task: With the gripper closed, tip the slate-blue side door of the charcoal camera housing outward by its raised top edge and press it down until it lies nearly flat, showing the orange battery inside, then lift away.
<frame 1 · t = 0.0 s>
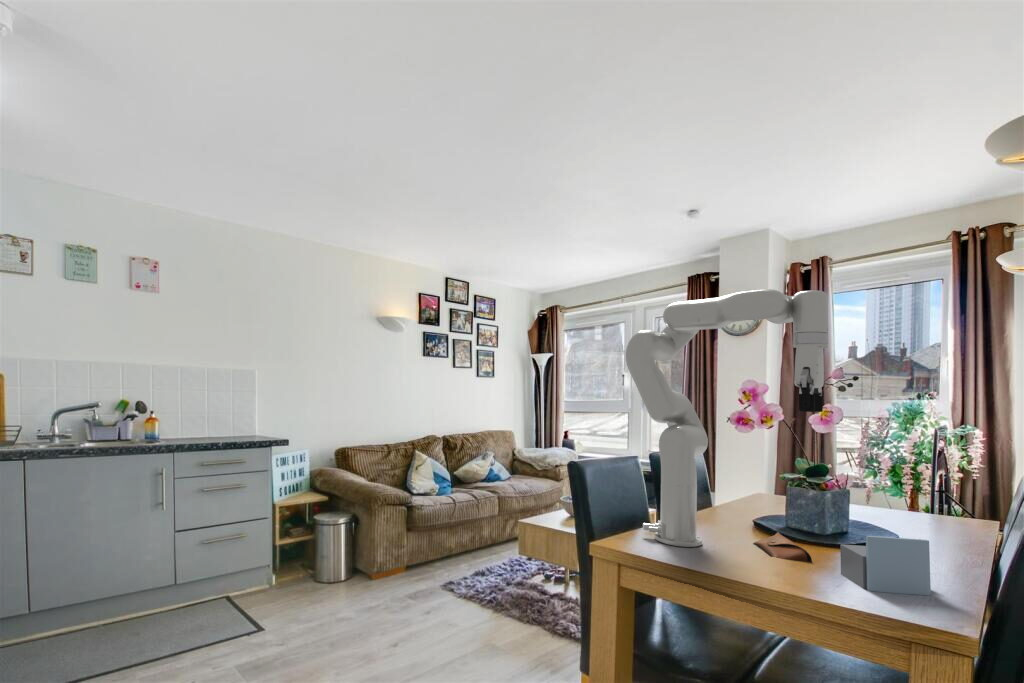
hand: (811, 411, 127), 37 cm above the table, tool pointing down, fingers open, 9 cm apart
camera housing: (883, 587, 115), on the table
side door: (897, 565, 110), point 6 cm above the table, hinge at 0.0°
sunglasses case: (779, 556, 137), on the table
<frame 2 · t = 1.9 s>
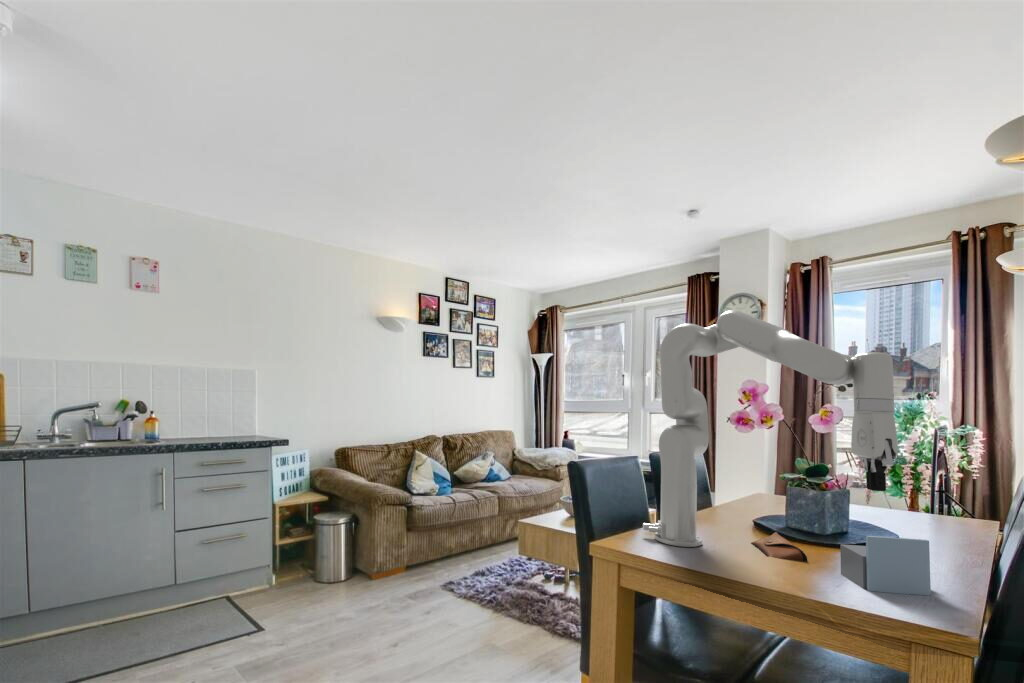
hand: (876, 490, 117), 21 cm above the table, tool pointing down, fingers closed
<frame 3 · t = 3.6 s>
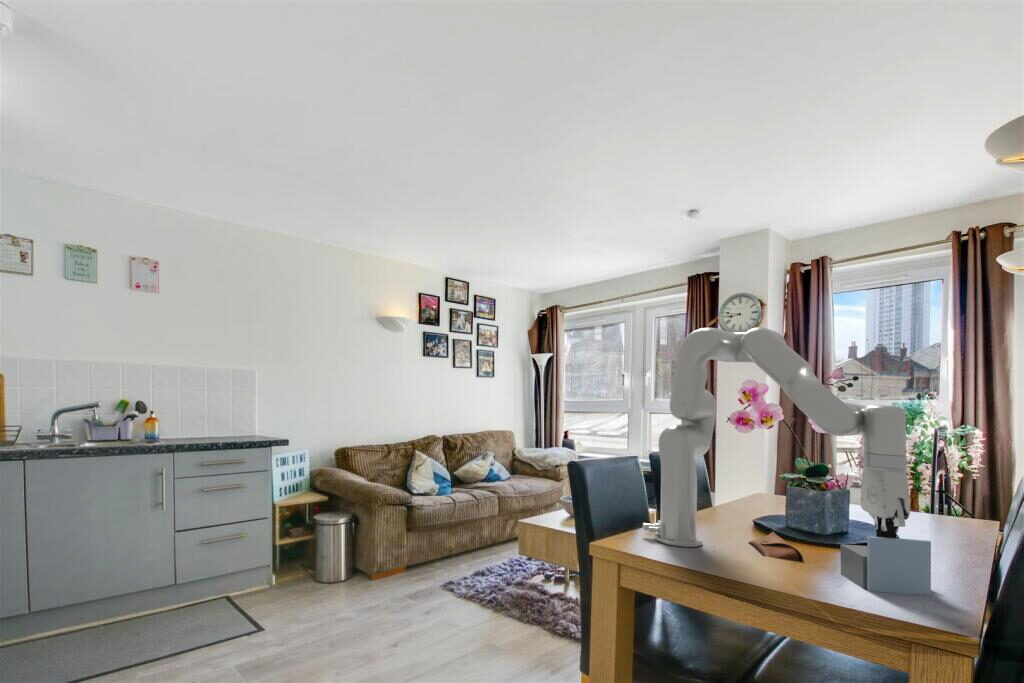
hand: (886, 549, 112), 9 cm above the table, tool pointing down, fingers closed
side door: (898, 565, 110), point 6 cm above the table, hinge at 2.9°, touching gripper
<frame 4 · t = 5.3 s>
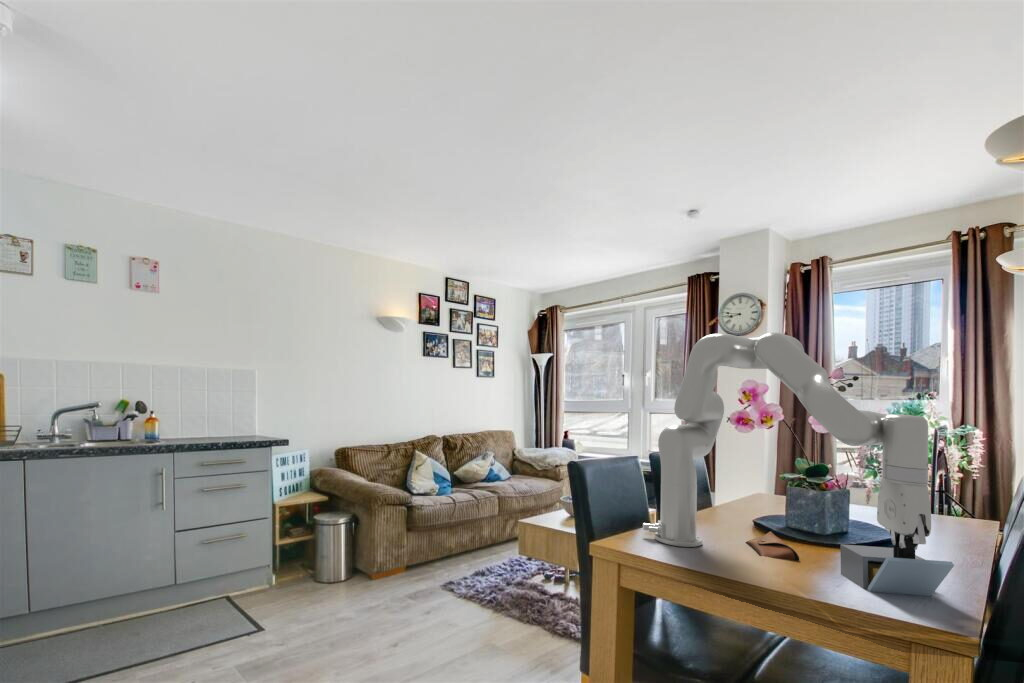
hand: (904, 567, 106), 7 cm above the table, tool pointing down, fingers closed
side door: (909, 577, 106), point 5 cm above the table, hinge at 39.9°, touching gripper
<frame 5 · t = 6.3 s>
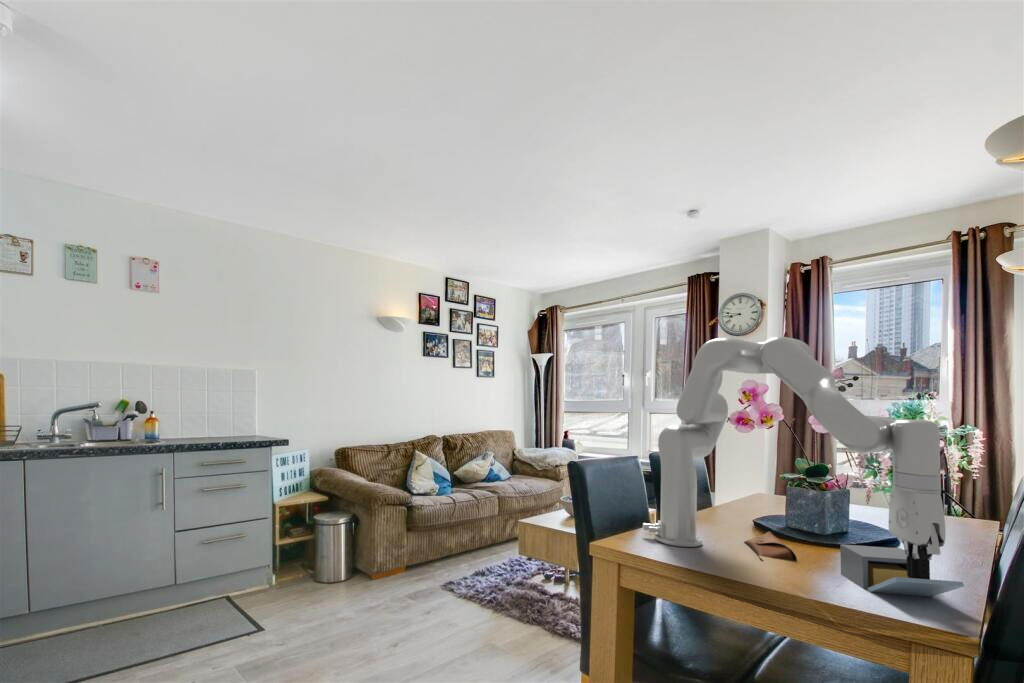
hand: (918, 578, 102), 6 cm above the table, tool pointing down, fingers closed
side door: (913, 587, 105), point 4 cm above the table, hinge at 60.3°, touching gripper
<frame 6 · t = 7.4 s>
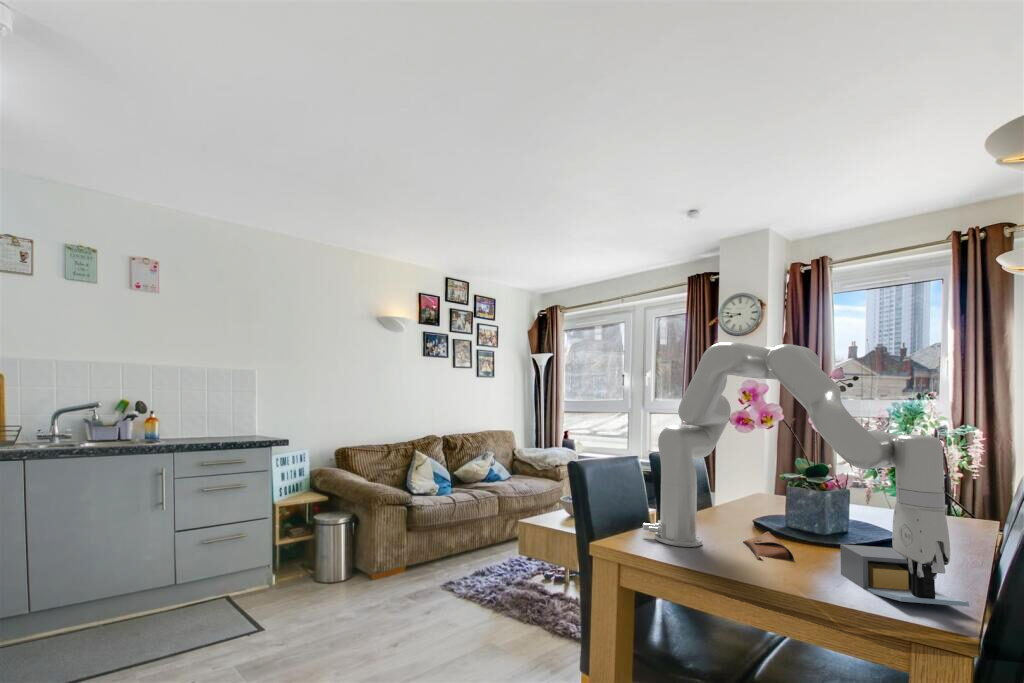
hand: (923, 597, 101), 3 cm above the table, tool pointing down, fingers closed
side door: (915, 596, 104), point 2 cm above the table, hinge at 78.4°, touching gripper
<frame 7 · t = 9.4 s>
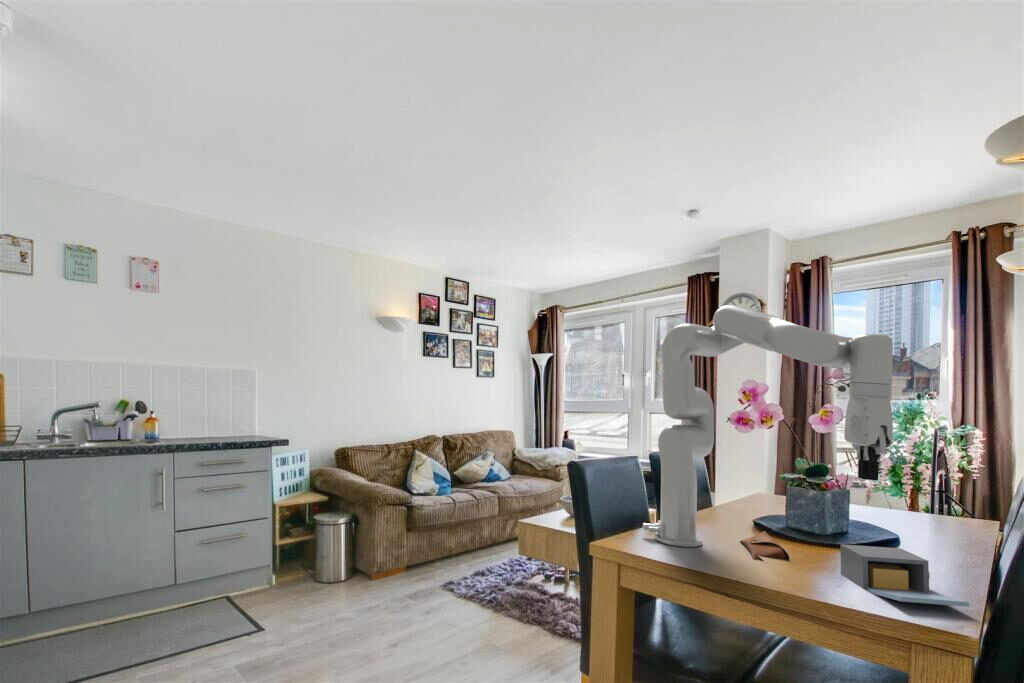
hand: (867, 479, 111), 24 cm above the table, tool pointing down, fingers closed
side door: (915, 596, 104), point 2 cm above the table, hinge at 78.4°
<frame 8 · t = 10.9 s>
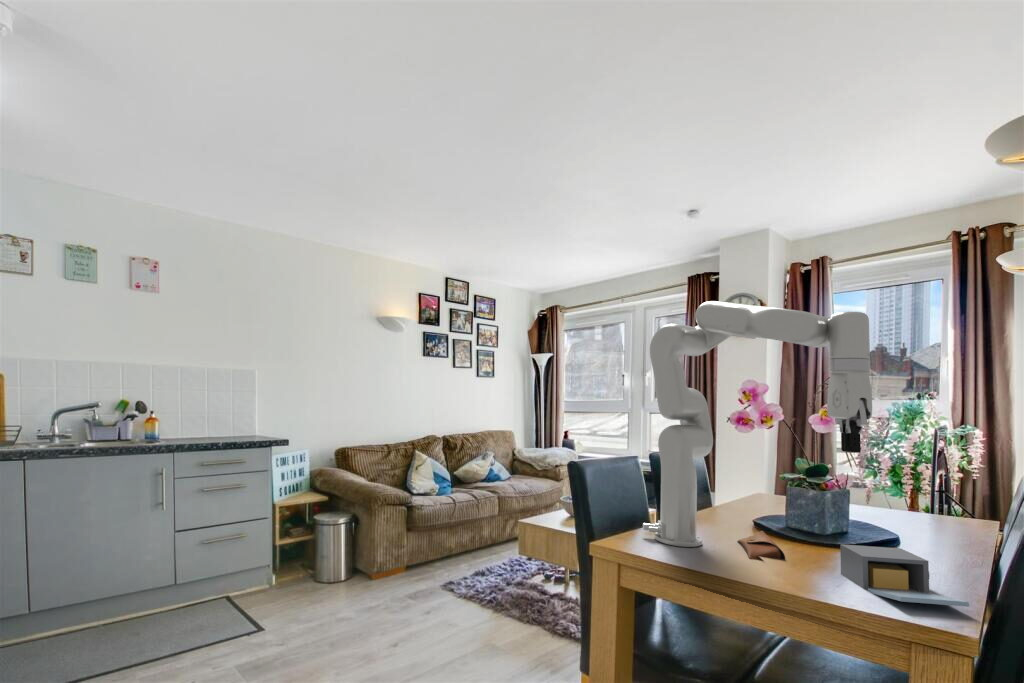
hand: (850, 451, 115), 29 cm above the table, tool pointing down, fingers closed
at the end: side door at +78° (first picture: +0°); the gripper is holding nothing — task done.
